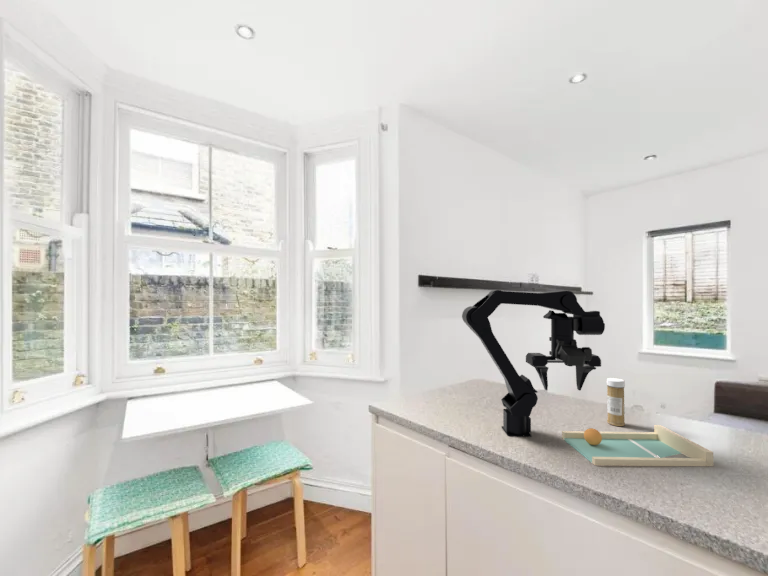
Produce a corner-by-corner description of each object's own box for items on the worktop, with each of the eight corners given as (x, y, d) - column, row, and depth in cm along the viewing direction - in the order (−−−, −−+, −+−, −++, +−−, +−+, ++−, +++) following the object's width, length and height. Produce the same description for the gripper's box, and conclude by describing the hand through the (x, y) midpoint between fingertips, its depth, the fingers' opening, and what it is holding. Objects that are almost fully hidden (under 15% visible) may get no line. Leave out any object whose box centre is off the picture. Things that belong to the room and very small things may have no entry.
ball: (593, 431, 88) (601, 447, 87) (599, 424, 91) (607, 440, 90) (578, 433, 91) (586, 448, 90) (584, 426, 94) (591, 441, 93)
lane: (594, 467, 80) (594, 450, 80) (562, 438, 95) (562, 423, 95) (713, 470, 79) (713, 452, 79) (660, 439, 94) (660, 425, 95)
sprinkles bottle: (627, 424, 105) (627, 379, 105) (620, 428, 103) (620, 381, 103) (611, 420, 109) (610, 376, 109) (603, 423, 106) (603, 378, 106)
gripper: (540, 338, 92) (540, 398, 92) (613, 339, 91) (613, 399, 91) (524, 333, 103) (525, 386, 103) (589, 333, 102) (590, 387, 102)
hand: (562, 389), depth 100 cm, fingers open, 9 cm apart
